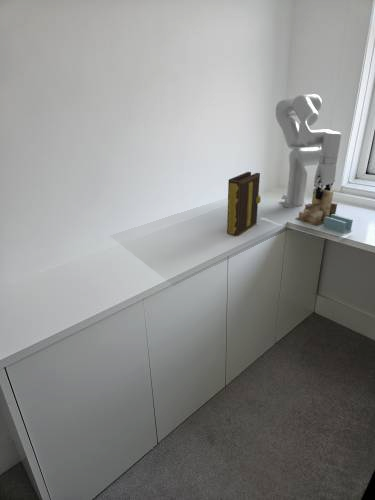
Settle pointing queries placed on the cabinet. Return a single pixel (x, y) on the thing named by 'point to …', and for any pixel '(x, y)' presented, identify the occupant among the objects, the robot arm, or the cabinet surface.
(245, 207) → the book
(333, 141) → the robot arm
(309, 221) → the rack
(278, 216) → the cabinet surface
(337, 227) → the stand
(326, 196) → the light brown flat block
